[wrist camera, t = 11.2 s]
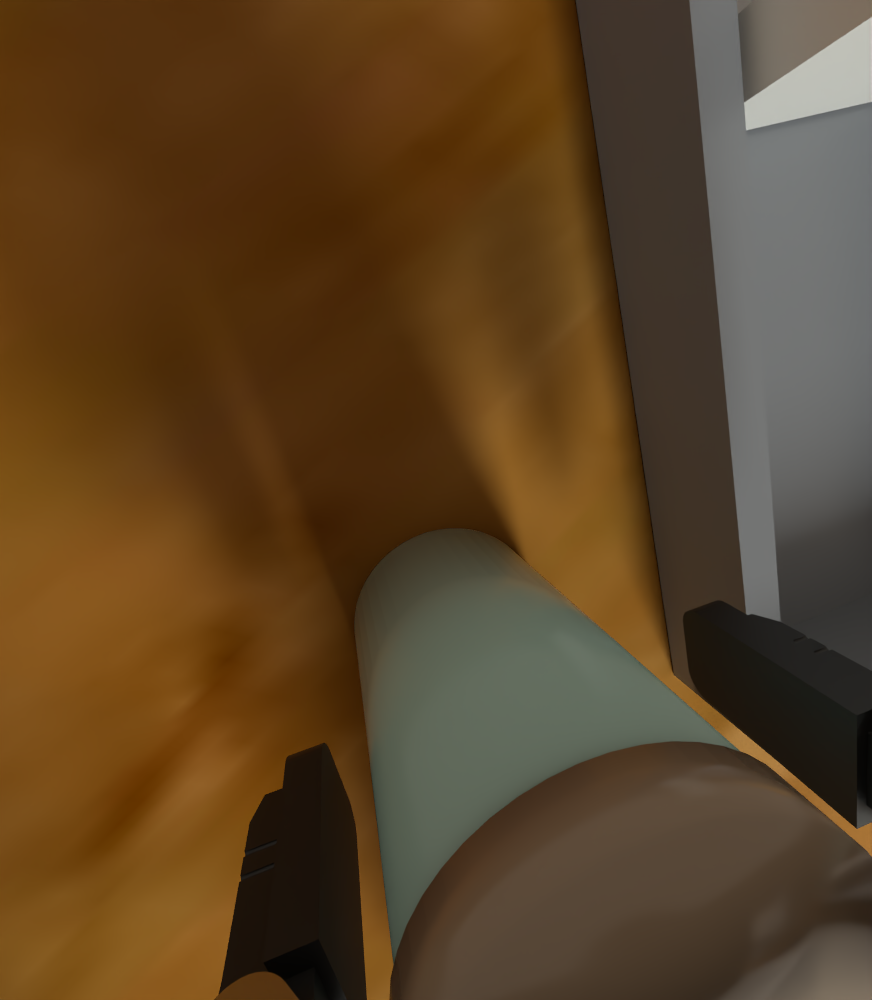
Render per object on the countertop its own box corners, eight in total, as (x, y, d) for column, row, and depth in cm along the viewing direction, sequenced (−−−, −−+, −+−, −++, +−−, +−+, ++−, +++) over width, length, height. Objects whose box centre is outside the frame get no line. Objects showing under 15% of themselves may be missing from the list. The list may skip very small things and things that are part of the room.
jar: (554, 665, 16) (894, 1082, 6) (383, 730, 15) (481, 1320, 6) (517, 499, 14) (896, 726, 5) (323, 562, 14) (319, 988, 4)
